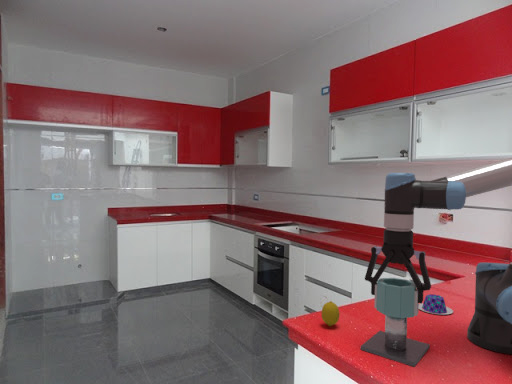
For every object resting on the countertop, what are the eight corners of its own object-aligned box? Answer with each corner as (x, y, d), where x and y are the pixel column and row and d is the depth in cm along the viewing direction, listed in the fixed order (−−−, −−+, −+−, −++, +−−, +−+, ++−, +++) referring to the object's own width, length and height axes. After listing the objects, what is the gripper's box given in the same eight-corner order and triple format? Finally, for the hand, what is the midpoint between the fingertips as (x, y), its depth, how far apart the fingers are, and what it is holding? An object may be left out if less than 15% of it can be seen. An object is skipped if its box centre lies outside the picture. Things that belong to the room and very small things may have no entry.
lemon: (317, 326, 114) (318, 301, 114) (327, 321, 118) (328, 297, 117) (332, 331, 110) (333, 305, 110) (342, 326, 114) (343, 301, 113)
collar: (417, 309, 100) (418, 281, 100) (411, 320, 92) (412, 289, 92) (382, 303, 105) (382, 276, 105) (373, 312, 97) (374, 283, 97)
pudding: (425, 316, 125) (425, 301, 125) (411, 304, 137) (411, 291, 137) (459, 317, 125) (460, 302, 125) (443, 305, 137) (443, 291, 137)
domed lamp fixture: (429, 347, 100) (430, 308, 99) (414, 366, 89) (415, 322, 89) (379, 333, 109) (380, 297, 108) (360, 349, 98) (361, 309, 98)
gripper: (445, 231, 95) (442, 314, 96) (361, 224, 107) (359, 299, 108) (442, 234, 89) (439, 323, 89) (354, 227, 101) (351, 306, 101)
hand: (395, 310), depth 99 cm, fingers closed on collar, 9 cm apart
